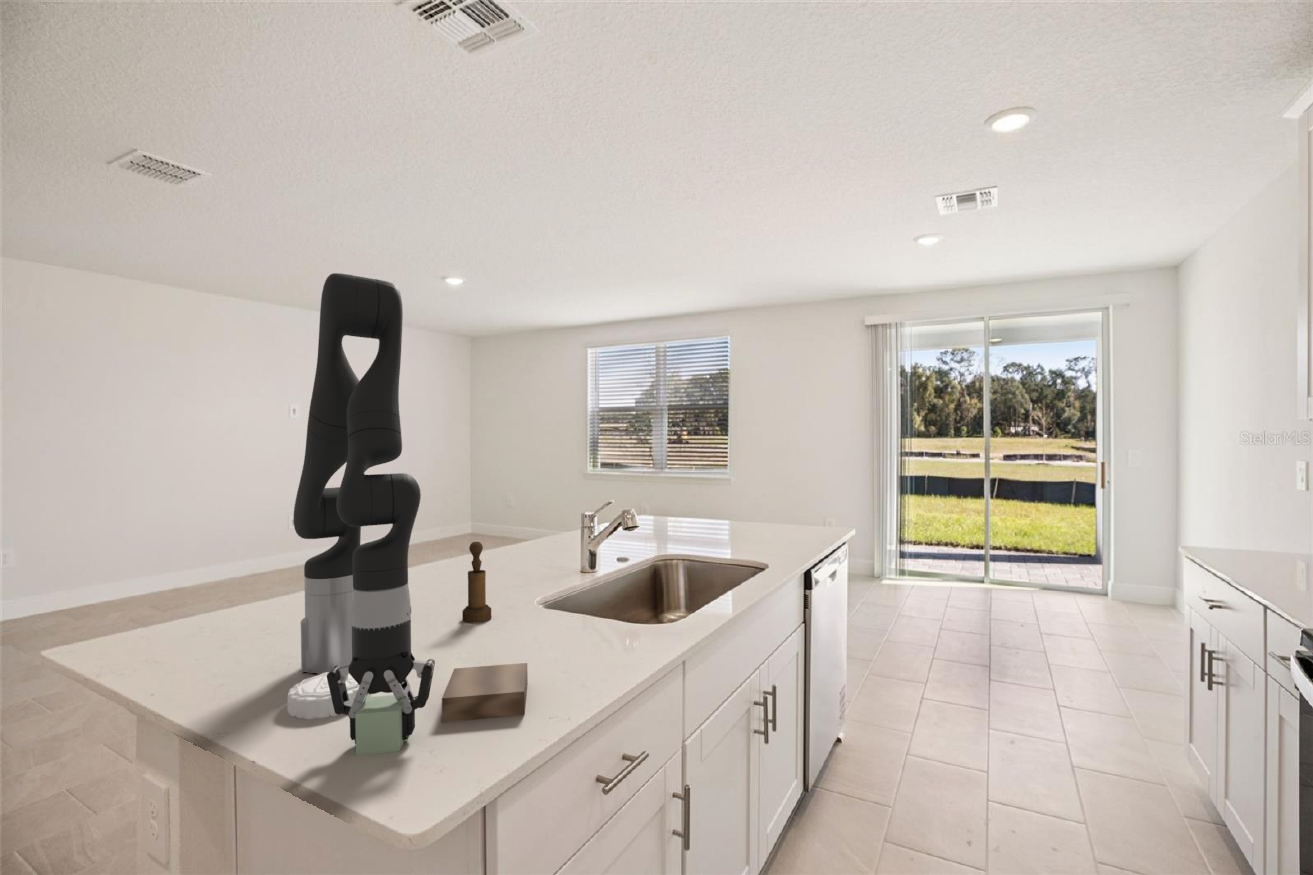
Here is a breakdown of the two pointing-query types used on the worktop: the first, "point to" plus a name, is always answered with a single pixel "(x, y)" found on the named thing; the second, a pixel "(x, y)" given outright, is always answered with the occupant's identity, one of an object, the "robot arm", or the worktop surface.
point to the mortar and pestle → (476, 590)
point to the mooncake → (316, 697)
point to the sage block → (379, 726)
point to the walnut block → (485, 692)
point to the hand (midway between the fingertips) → (383, 738)
